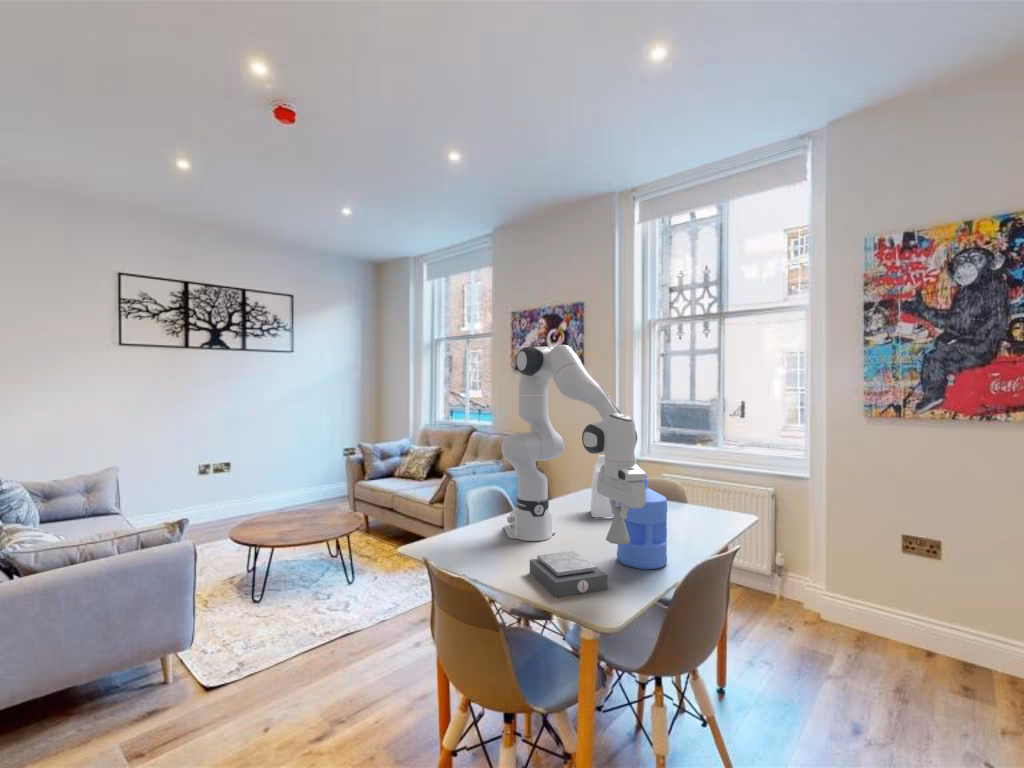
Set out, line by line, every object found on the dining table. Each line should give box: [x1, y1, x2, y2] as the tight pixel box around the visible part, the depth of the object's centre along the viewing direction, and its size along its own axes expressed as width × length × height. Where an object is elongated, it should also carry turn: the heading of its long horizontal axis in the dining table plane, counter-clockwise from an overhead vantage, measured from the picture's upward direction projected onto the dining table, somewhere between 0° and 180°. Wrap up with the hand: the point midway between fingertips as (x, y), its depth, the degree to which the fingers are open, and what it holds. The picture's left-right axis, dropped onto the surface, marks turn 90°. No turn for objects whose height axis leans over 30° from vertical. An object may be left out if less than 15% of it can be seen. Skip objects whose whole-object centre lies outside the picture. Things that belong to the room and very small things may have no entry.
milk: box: [590, 454, 614, 518], centre depth 213 cm, size 12×12×26 cm
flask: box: [605, 506, 630, 545], centre depth 142 cm, size 7×7×10 cm
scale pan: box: [536, 550, 597, 576], centre depth 141 cm, size 14×12×1 cm
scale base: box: [529, 554, 609, 598], centre depth 140 cm, size 19×16×4 cm
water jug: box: [616, 474, 668, 570], centre depth 156 cm, size 16×16×28 cm
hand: (619, 516), depth 142 cm, fingers closed on flask, 3 cm apart
